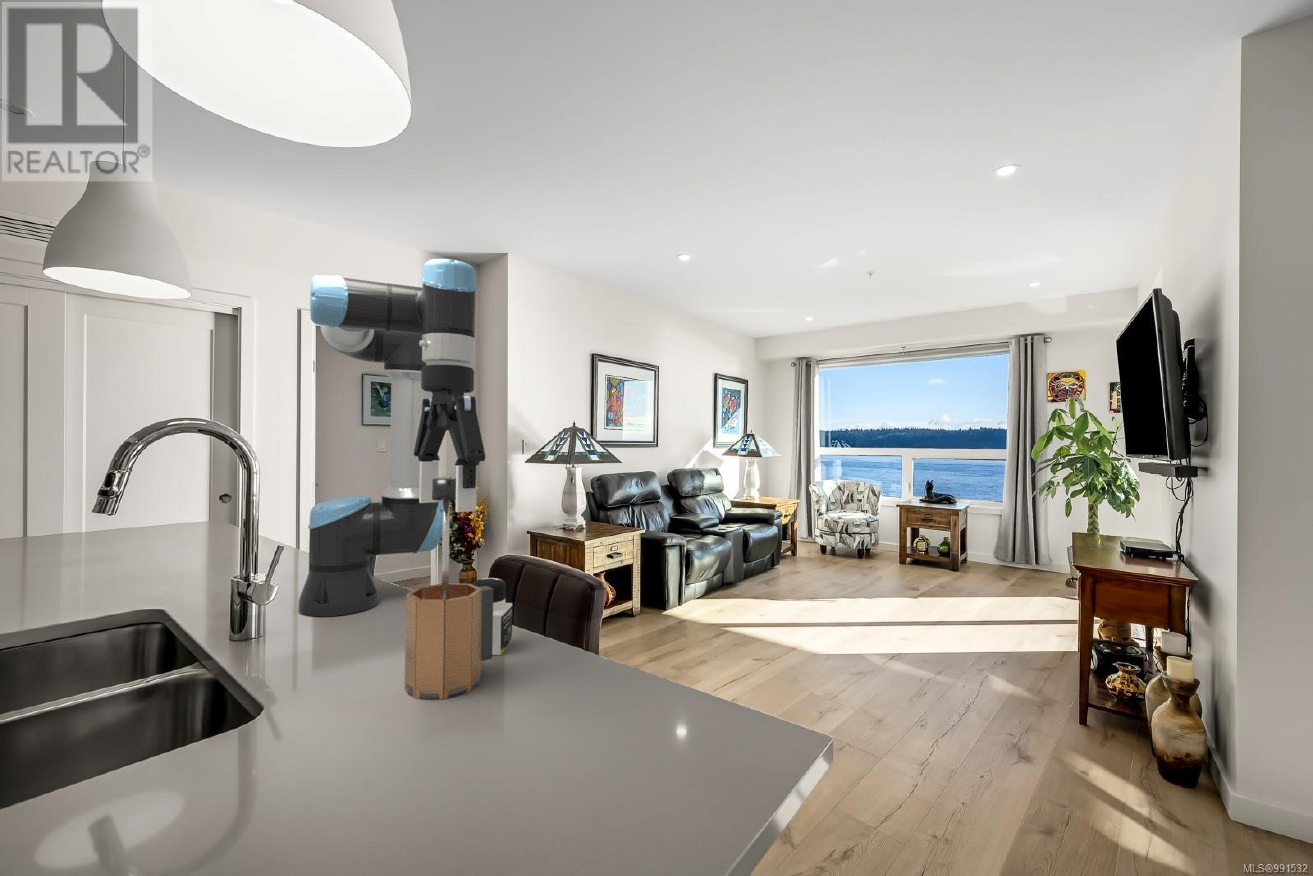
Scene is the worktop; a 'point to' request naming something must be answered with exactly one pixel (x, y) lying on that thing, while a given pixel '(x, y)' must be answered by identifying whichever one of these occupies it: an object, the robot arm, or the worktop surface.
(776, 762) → the worktop surface
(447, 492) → the plunger
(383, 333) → the robot arm
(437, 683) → the press carafe
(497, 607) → the medicine bottle
